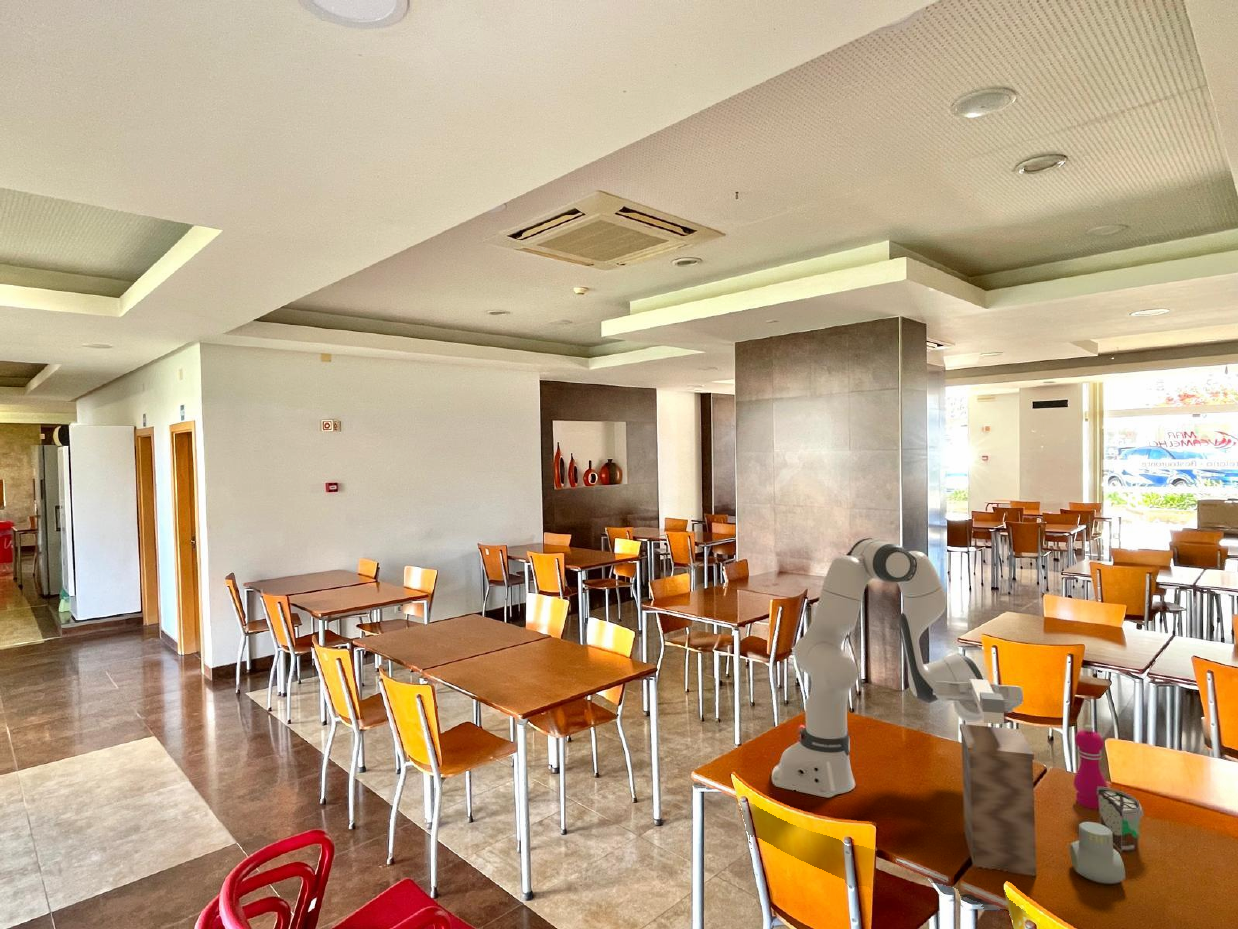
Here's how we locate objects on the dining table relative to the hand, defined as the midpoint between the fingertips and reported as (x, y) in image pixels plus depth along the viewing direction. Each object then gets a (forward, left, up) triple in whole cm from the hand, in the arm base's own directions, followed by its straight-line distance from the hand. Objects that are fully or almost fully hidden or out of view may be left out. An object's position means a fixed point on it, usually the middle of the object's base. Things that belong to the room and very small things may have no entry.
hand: (980, 686), depth 171 cm
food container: (+28, -5, -32) cm, 43 cm away
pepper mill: (+26, +13, -32) cm, 43 cm away
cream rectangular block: (0, -8, -2) cm, 8 cm away
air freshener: (+18, -21, -32) cm, 43 cm away
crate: (0, -18, -32) cm, 37 cm away
